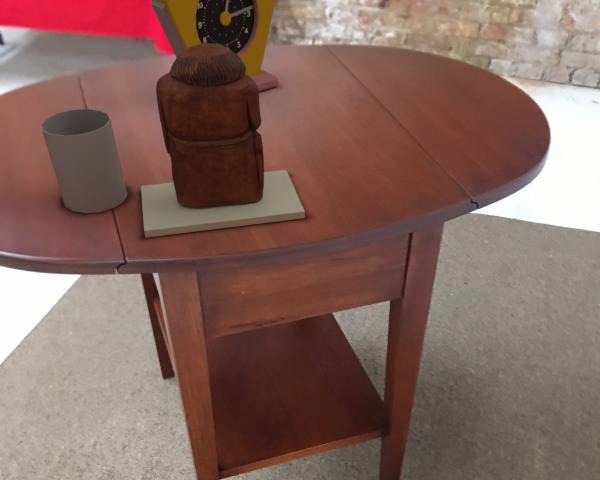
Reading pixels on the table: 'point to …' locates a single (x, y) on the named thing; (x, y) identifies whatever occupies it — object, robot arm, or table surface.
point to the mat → (218, 208)
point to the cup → (85, 159)
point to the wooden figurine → (212, 128)
